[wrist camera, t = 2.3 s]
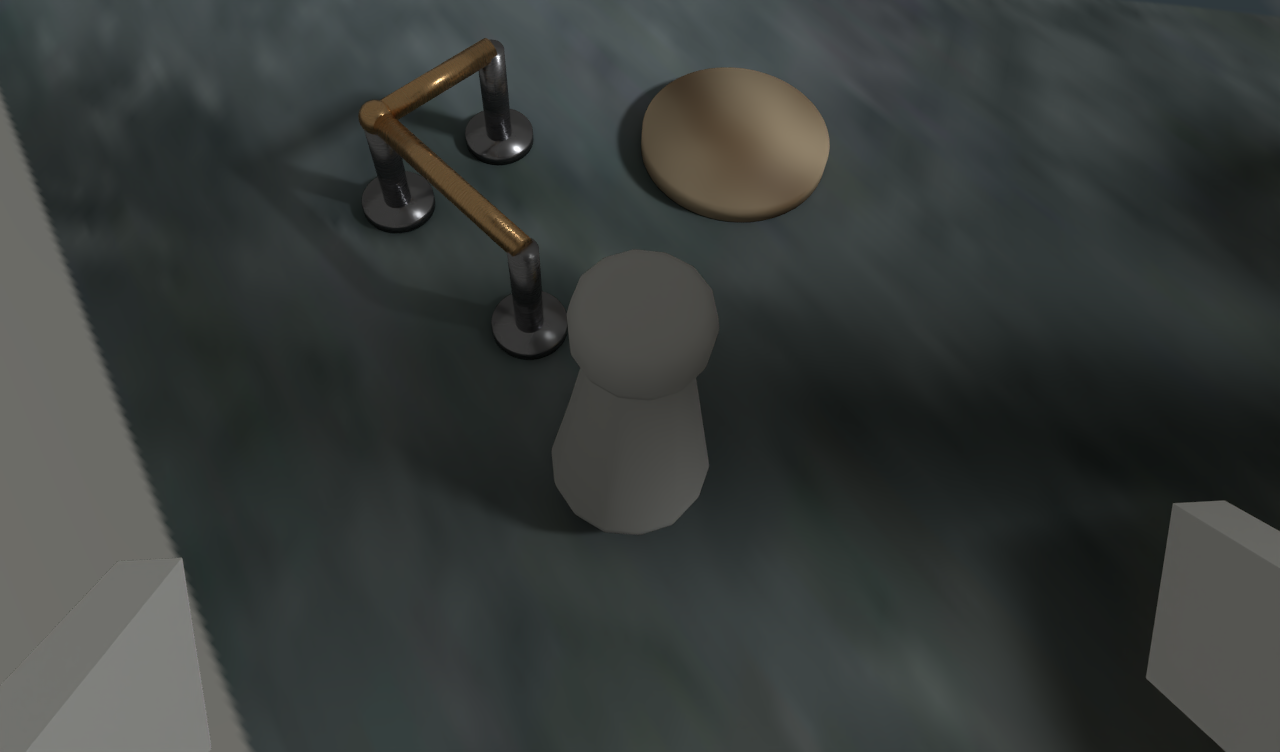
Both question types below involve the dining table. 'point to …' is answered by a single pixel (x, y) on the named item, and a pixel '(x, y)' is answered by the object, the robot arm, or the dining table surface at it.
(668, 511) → the salt shaker
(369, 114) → the rail
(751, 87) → the coaster
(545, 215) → the dining table surface
